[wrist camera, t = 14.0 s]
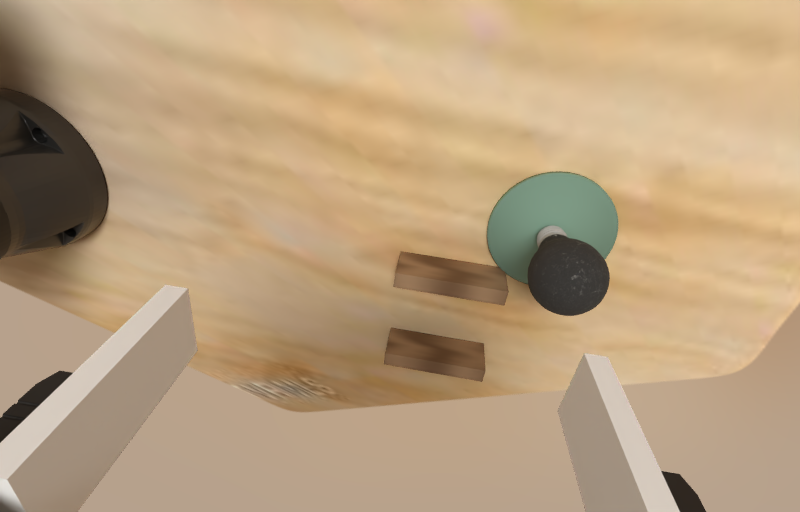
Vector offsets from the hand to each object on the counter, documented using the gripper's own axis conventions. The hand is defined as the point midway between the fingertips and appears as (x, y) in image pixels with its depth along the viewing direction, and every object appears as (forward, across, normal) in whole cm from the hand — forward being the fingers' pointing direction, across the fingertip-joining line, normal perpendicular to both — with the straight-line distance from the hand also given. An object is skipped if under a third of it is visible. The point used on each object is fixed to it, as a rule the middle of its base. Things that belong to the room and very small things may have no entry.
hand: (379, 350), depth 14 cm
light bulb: (+24, +12, -6) cm, 28 cm away
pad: (+24, +12, -6) cm, 28 cm away
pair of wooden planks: (+25, +5, -16) cm, 30 cm away
